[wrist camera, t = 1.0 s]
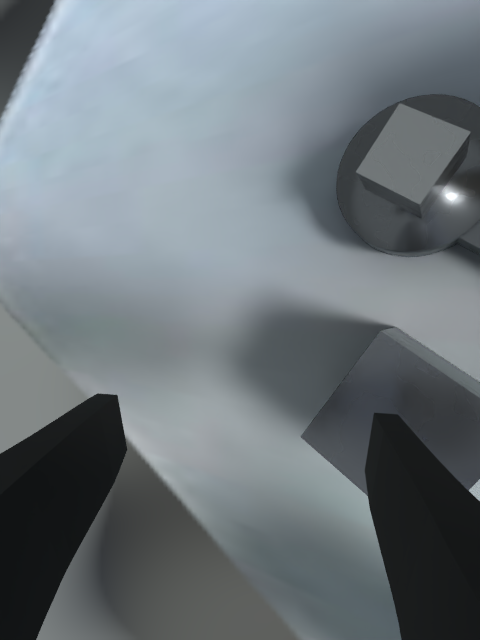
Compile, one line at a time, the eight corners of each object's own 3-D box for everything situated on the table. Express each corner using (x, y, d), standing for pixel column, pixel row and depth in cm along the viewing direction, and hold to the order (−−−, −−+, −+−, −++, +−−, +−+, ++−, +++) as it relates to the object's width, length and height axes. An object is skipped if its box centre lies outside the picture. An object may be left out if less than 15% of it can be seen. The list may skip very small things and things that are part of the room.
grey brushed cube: (499, 395, 17) (527, 430, 12) (424, 478, 19) (419, 541, 13) (395, 327, 19) (380, 330, 14) (335, 406, 21) (300, 436, 16)
